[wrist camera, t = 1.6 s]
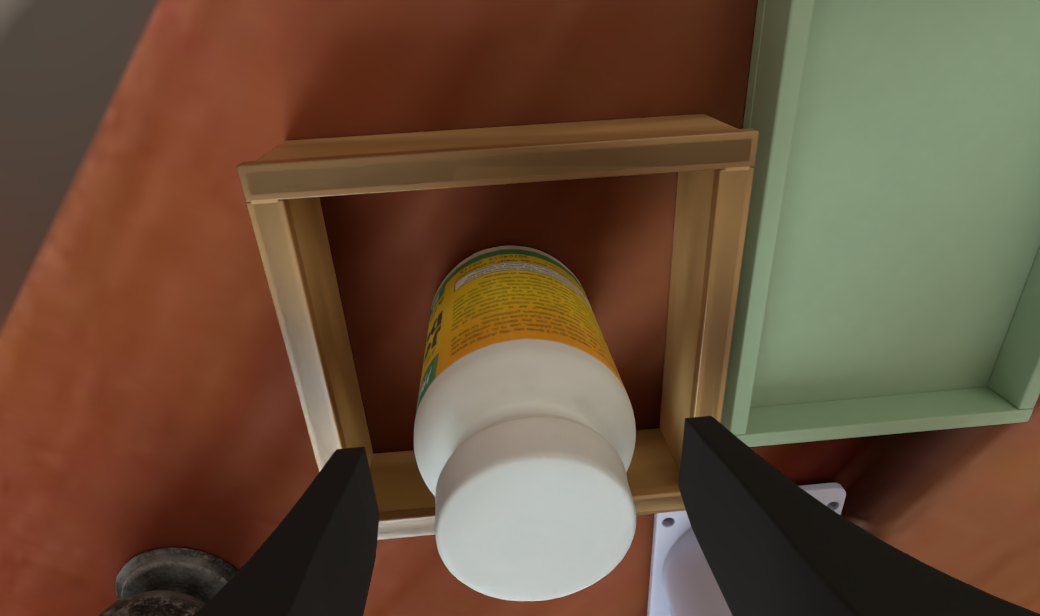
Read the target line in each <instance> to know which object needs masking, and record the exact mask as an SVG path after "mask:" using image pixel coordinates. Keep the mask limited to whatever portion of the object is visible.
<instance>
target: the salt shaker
mask: <svg viewBox="0 0 1040 616" xmlns="http://www.w3.org/2000/svg"><path fill="white" fill-rule="evenodd" d="M237 572H238V571H237V570H236V569H235V568H234V567H233V566H232V565H230V564H229V563H227V562H225V561H224V560H222V559H220V558H219V557H216V556H214V555H211V554H208V553H206V552H203V551H198V550H193V549H188V548H161V549H155V550H149V551H147V552H144V553H142V554H139V555H137V556H135V557H133V558H132V559H131V560H129V561H128V562H127V563H126V564H124V566H123V567H122V569H121V571H120V572H119V574H118V575H117V577H116V584H115V590H116V594H117V597H118V600H119V601H117V602H115V603H114V604H113V605H111V606H110V607H109V608H107V609H106V610H105V611H104V612H102V613H101V614H100V615H99V616H193V615H194V614H195V613H196V612H197V611H198V610H199V609H200V608H202V607H203V606H204V605H205V604H206V603H207V602H208V601H209V600H210V599H211V598H212V597H213V596H214V595H215V594H216V593H217V592H218V591H219V590H220V589H221V588H222V587H223V586H224V585H225V584H226V583H227V582H228V581H229V580H230V579H231V578H232V577H233V576H234V575H235V574H236V573H237Z"/></svg>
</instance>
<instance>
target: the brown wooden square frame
mask: <svg viewBox="0 0 1040 616" xmlns="http://www.w3.org/2000/svg"><path fill="white" fill-rule="evenodd" d="M758 136H759V131H757V130H755V129H752V128H749V129H737V128H735V127H733V126H730V125H728V124H726V123H723V122H721V121H719V120H717V119H714V118H712V117H710V116H707V115H705V114H691V115H675V116H660V117H644V118H629V119H613V120H598V121H583V122H567V123H552V124H536V125H521V126H505V127H490V128H474V129H459V130H444V131H428V132H413V133H397V134H382V135H366V136H351V137H335V138H320V139H305V140H289V141H284V142H282V143H281V144H279V145H278V146H276V147H275V148H273V149H272V150H271V151H269V152H268V153H266V154H265V155H263V156H262V157H261V158H259V159H258V160H256V161H250V162H242V163H240V164H239V165H237V170H238V173H239V177H240V181H241V185H242V188H243V192H244V196H245V199H246V202H247V207H248V211H249V214H250V218H251V222H252V225H253V229H254V233H255V237H256V240H257V244H258V248H259V251H260V255H261V259H262V263H263V266H264V270H265V274H266V277H267V281H268V285H269V289H270V292H271V296H272V300H273V303H274V307H275V311H276V315H277V318H278V322H279V326H280V329H281V333H282V337H283V341H284V344H285V348H286V352H287V355H288V359H289V363H290V366H291V370H292V374H293V378H294V381H295V385H296V389H297V392H298V396H299V400H300V404H301V407H302V411H303V415H304V418H305V422H306V426H307V430H308V433H309V437H310V441H311V444H312V448H313V452H314V456H315V459H316V463H317V467H318V470H319V472H320V471H321V469H322V468H323V467H324V465H325V464H326V462H327V461H328V460H329V458H330V457H331V456H332V454H333V453H334V452H335V451H336V450H337V449H344V448H355V447H365V450H366V454H367V459H368V464H369V468H370V473H371V477H372V482H373V487H374V491H375V496H376V500H377V505H378V510H379V514H380V515H379V526H378V538H377V540H383V539H394V538H404V537H415V536H425V535H435V509H436V503H435V496H434V495H433V494H432V492H431V491H430V490H429V488H428V487H427V485H426V484H425V482H424V480H423V478H422V476H421V473H420V471H419V468H418V465H417V461H416V458H415V452H414V450H410V451H398V452H387V453H376V454H373V450H372V445H371V440H370V436H369V431H368V426H367V421H366V417H365V412H364V407H363V402H362V398H361V393H360V388H359V383H358V379H357V374H356V369H355V364H354V360H353V355H352V350H351V345H350V341H349V336H348V331H347V326H346V322H345V317H344V312H343V307H342V303H341V298H340V293H339V288H338V284H337V279H336V274H335V269H334V265H333V260H332V255H331V250H330V245H329V241H328V236H327V231H326V226H325V222H324V217H323V212H322V207H321V203H320V198H319V197H327V196H342V195H356V194H371V193H385V192H400V191H414V190H429V189H443V188H458V187H472V186H486V185H501V184H515V183H530V182H544V181H559V180H573V179H588V178H602V177H617V176H631V175H645V174H660V173H674V172H678V181H677V195H676V209H675V222H674V236H673V250H672V263H671V277H670V291H669V304H668V318H667V331H666V345H665V359H664V372H663V386H662V400H661V413H660V428H657V429H645V430H636V441H635V449H634V453H633V456H632V460H631V463H630V466H629V468H628V470H627V472H626V474H627V481H628V484H629V487H630V490H631V494H632V497H633V500H634V504H635V509H636V515H645V514H655V513H666V512H676V511H686V509H685V506H684V503H683V500H682V497H681V493H680V490H679V487H678V484H679V474H680V464H681V453H682V443H683V433H684V423H685V418H692V417H703V416H712V417H714V418H715V419H716V420H717V421H719V422H720V423H721V416H722V408H723V400H724V393H725V385H726V378H727V370H728V363H729V355H730V348H731V340H732V332H733V325H734V317H735V310H736V302H737V295H738V287H739V279H740V272H741V264H742V257H743V249H744V242H745V234H746V226H747V219H748V211H749V204H750V196H751V189H752V181H753V173H754V168H753V167H754V166H755V158H756V151H757V143H758Z"/></svg>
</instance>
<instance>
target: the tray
mask: <svg viewBox="0 0 1040 616" xmlns="http://www.w3.org/2000/svg"><path fill="white" fill-rule="evenodd" d="M749 128H752V129H755V130H757V131H759V136H758V143H757V151H756V158H755V166H754V167H753V168H754V173H753V181H752V189H751V196H750V204H749V211H748V219H747V226H746V234H745V242H744V249H743V257H742V264H741V272H740V279H739V287H738V295H737V302H736V310H735V317H734V325H733V332H732V340H731V348H730V355H729V363H728V370H727V378H726V385H725V393H724V400H723V408H722V416H721V424H722V425H723V426H725V427H726V428H727V429H728V430H729V431H730V432H732V433H733V434H734V435H735V436H736V437H738V438H739V439H740V440H741V441H742V442H743V443H745V444H746V445H747V446H748V447H755V446H766V445H777V444H788V443H799V442H810V441H821V440H832V439H843V438H854V437H865V436H876V435H887V434H898V433H909V432H920V431H931V430H942V429H952V428H963V427H974V426H985V425H996V424H1007V423H1018V422H1028V421H1029V418H1030V416H1031V414H1032V411H1033V407H1034V406H1035V403H1036V401H1037V399H1038V396H1039V394H1040V0H758V5H757V13H756V22H755V30H754V38H753V47H752V55H751V63H750V72H749V80H748V89H747V97H746V105H745V114H744V122H743V129H749Z"/></svg>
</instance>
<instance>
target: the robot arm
mask: <svg viewBox="0 0 1040 616" xmlns="http://www.w3.org/2000/svg"><path fill="white" fill-rule="evenodd" d="M678 487H679V490H680V493H681V497H682V500H683V503H684V506H685V509H686V511H676V512H666V513H655V514H654V527H653V541H652V554H651V568H650V581H649V594H648V608H647V616H1040V614H1038V613H1036V612H1033V611H1030V610H1028V609H1025V608H1023V607H1020V606H1018V605H1015V604H1013V603H1010V602H1008V601H1005V600H1003V599H1000V598H998V597H995V596H993V595H991V594H988V593H986V592H984V591H982V590H980V589H977V588H975V587H973V586H971V585H969V584H966V583H964V582H962V581H960V580H958V579H955V578H953V577H951V576H949V575H947V574H945V573H943V572H941V571H939V570H937V569H935V568H933V567H931V566H929V565H927V564H925V563H923V562H921V561H919V560H917V559H915V558H913V557H911V556H910V555H908V554H906V553H904V552H902V551H900V550H898V549H896V548H894V547H893V546H891V545H889V544H887V543H885V542H884V541H882V540H880V539H878V538H877V537H875V536H873V535H872V534H870V533H868V532H867V531H865V530H863V529H862V528H860V527H859V526H857V525H855V524H854V523H852V522H850V521H849V520H847V519H846V518H844V517H842V516H841V512H842V508H843V505H844V501H845V497H846V492H845V490H844V489H843V487H842V486H841V485H840V484H838V483H822V484H812V485H801V486H798V485H796V484H795V483H794V482H792V481H791V480H790V479H788V478H787V477H786V476H784V475H783V474H782V473H780V472H779V471H778V470H777V469H775V468H774V467H773V466H772V465H770V464H769V463H768V462H766V461H765V460H764V459H763V458H762V457H760V456H759V455H758V454H757V453H755V452H754V451H753V450H752V449H751V448H749V447H748V446H747V445H746V444H745V443H743V442H742V441H741V440H740V439H739V438H738V437H736V436H735V435H734V434H733V433H732V432H730V431H729V430H728V429H727V428H726V427H725V426H723V425H722V424H721V423H720V422H719V421H717V420H716V419H715V418H714V417H712V416H703V417H692V418H685V423H684V433H683V443H682V453H681V464H680V474H679V484H678ZM379 515H380V514H379V510H378V505H377V500H376V496H375V491H374V487H373V482H372V477H371V473H370V468H369V464H368V459H367V454H366V450H365V447H355V448H344V449H337V450H336V451H335V452H334V453H333V454H332V456H331V457H330V458H329V460H328V461H327V462H326V464H325V465H324V467H323V468H322V469H321V471H320V472H319V474H318V475H317V476H316V478H315V479H314V480H313V482H312V483H311V484H310V486H309V487H308V488H307V490H306V491H305V493H304V494H303V495H302V497H301V498H300V499H299V500H298V502H297V503H296V504H295V505H294V507H293V508H292V509H291V511H290V512H289V513H288V514H287V516H286V517H285V518H284V519H283V521H282V522H281V523H280V524H279V526H278V527H277V528H276V529H275V530H274V532H273V533H272V534H271V535H270V536H269V537H268V539H267V540H266V541H265V542H264V543H263V544H262V546H261V547H260V548H259V549H258V550H257V551H256V552H255V554H254V555H253V556H252V557H251V558H250V559H249V560H248V561H247V563H246V564H245V565H244V566H243V567H242V568H241V569H240V570H239V571H238V572H237V573H236V574H235V575H234V576H233V577H232V578H231V579H230V580H229V581H228V582H227V583H226V584H225V585H224V586H223V587H222V588H221V589H220V590H219V591H218V592H217V593H216V594H215V595H214V596H213V597H212V598H211V599H210V600H209V601H208V602H207V603H206V604H205V605H204V606H203V607H202V608H200V609H199V610H198V611H197V612H196V613H195V614H194V615H193V616H363V613H364V609H365V604H366V600H367V595H368V591H369V586H370V581H371V577H372V572H373V567H374V562H375V557H376V547H377V538H378V526H379ZM666 518H669V519H666ZM664 519H666V520H664Z"/></svg>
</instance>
